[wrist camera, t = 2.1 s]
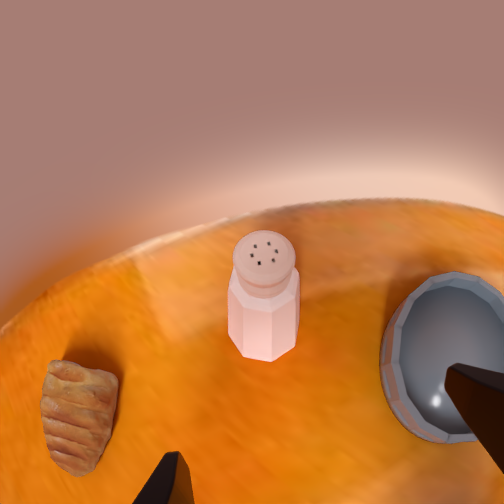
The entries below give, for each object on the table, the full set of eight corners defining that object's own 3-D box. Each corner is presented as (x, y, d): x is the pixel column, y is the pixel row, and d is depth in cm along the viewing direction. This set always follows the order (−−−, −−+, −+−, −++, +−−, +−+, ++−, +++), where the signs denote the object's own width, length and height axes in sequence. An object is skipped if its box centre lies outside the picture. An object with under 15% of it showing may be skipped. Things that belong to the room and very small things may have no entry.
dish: (474, 465, 16) (492, 466, 14) (346, 396, 20) (355, 392, 18) (521, 328, 21) (537, 319, 19) (418, 257, 26) (429, 243, 24)
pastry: (116, 484, 17) (92, 490, 14) (48, 460, 18) (20, 460, 14) (125, 373, 22) (103, 362, 19) (59, 359, 22) (33, 347, 19)
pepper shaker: (290, 289, 25) (306, 197, 16) (307, 354, 22) (341, 296, 13) (222, 302, 25) (197, 215, 15) (234, 369, 22) (211, 322, 12)
